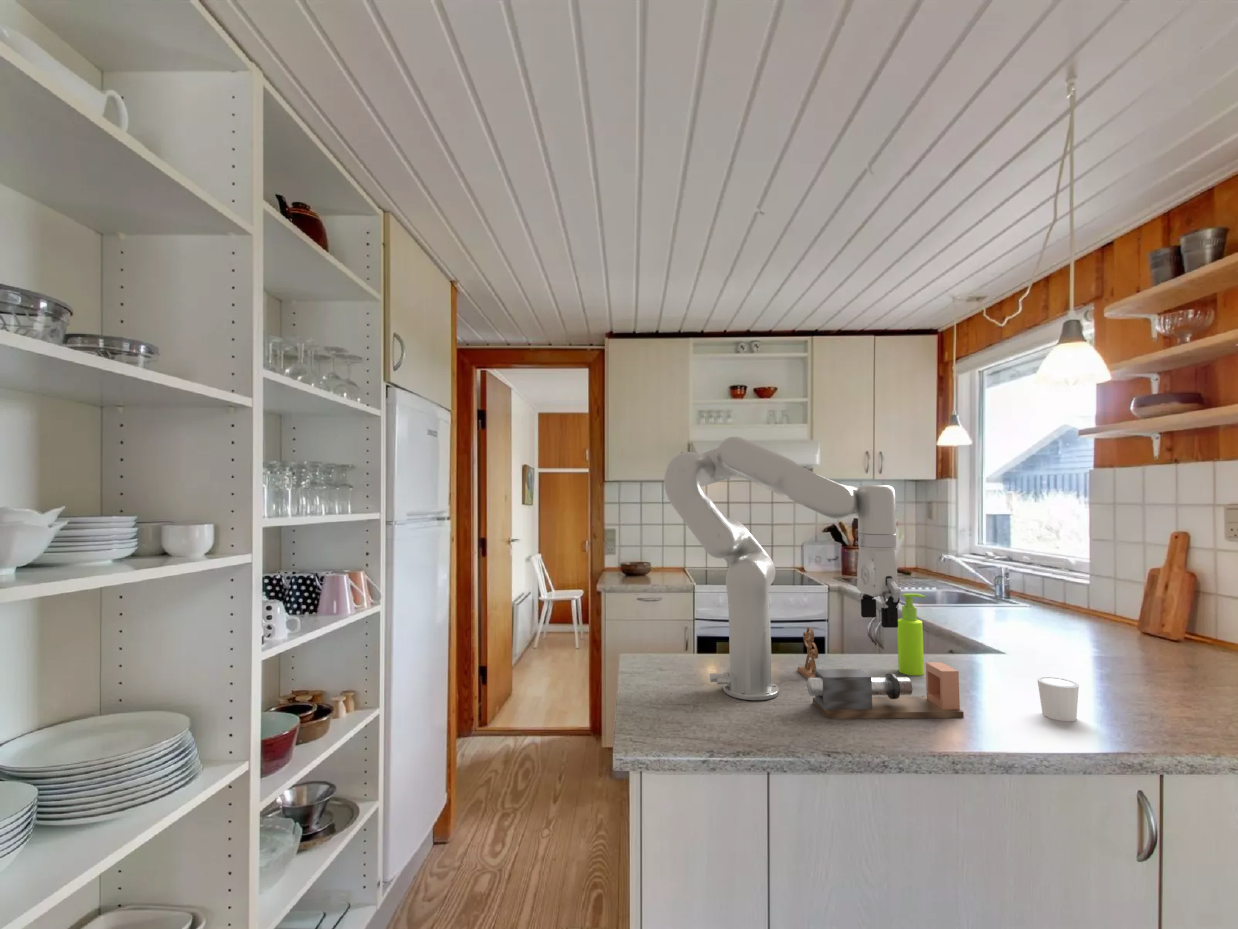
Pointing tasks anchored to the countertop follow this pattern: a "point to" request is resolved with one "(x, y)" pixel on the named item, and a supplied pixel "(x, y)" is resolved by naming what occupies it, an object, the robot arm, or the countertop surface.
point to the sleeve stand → (869, 699)
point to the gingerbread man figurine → (809, 655)
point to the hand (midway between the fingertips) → (878, 622)
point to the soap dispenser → (910, 639)
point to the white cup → (1058, 698)
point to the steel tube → (879, 686)
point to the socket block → (942, 685)
